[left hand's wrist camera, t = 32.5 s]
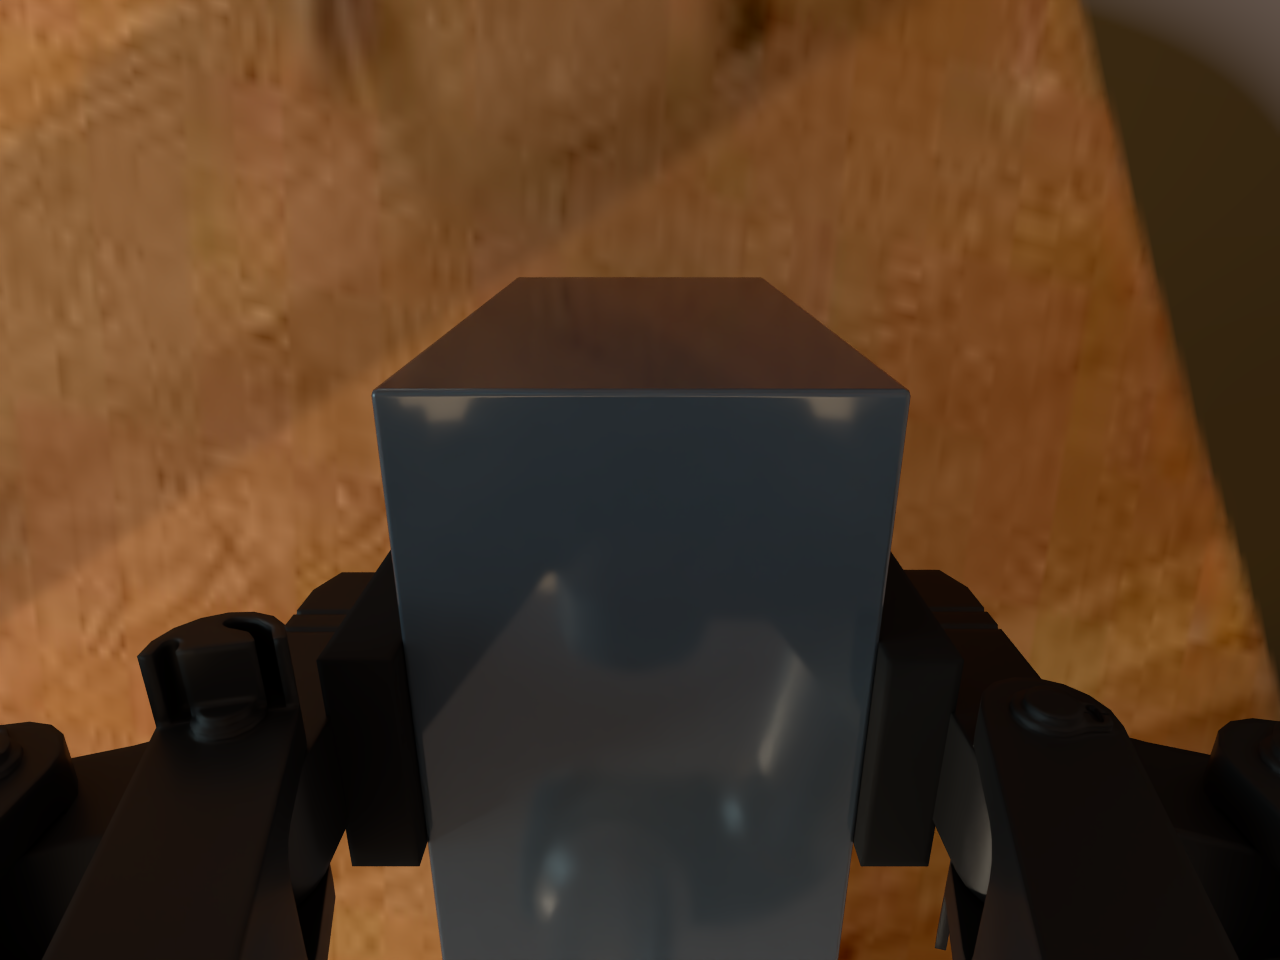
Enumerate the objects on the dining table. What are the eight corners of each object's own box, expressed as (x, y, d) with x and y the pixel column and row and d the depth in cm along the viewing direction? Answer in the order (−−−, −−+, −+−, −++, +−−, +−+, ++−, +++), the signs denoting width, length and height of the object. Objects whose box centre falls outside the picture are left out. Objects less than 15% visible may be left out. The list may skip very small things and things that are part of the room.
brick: (535, 638, 18) (448, 1023, 10) (516, 277, 15) (367, 390, 7) (743, 638, 18) (831, 1023, 10) (764, 276, 16) (913, 390, 7)
